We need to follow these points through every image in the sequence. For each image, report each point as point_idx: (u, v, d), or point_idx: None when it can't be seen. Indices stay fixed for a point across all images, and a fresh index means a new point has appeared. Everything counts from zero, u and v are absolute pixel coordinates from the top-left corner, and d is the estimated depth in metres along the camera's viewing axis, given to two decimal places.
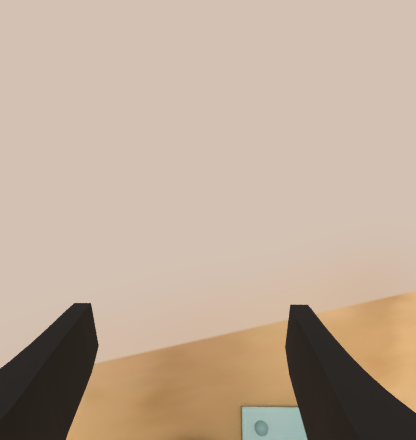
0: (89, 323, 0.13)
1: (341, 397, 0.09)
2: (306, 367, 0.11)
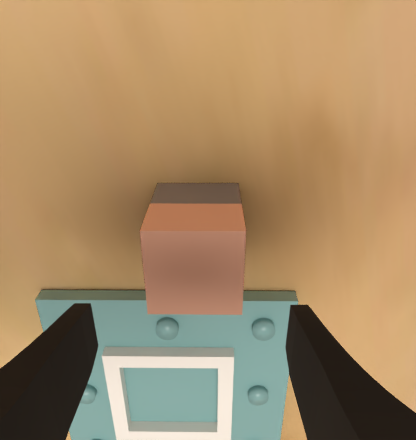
0: (89, 323, 0.13)
1: (341, 397, 0.09)
2: (306, 367, 0.11)
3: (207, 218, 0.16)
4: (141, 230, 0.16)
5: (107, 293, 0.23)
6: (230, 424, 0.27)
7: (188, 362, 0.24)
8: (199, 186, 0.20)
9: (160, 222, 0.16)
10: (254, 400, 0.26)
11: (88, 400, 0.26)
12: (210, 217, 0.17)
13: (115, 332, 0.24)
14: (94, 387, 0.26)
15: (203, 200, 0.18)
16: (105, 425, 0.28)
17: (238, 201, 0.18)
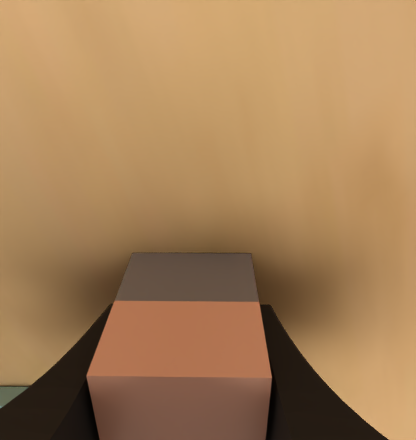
0: None
1: (284, 396, 0.09)
2: None
3: (204, 340, 0.10)
4: (89, 374, 0.09)
5: None
6: None
7: None
8: (192, 261, 0.13)
9: (125, 351, 0.10)
10: None
11: None
12: (209, 337, 0.10)
13: None
14: None
15: (199, 292, 0.12)
16: None
17: (253, 296, 0.12)
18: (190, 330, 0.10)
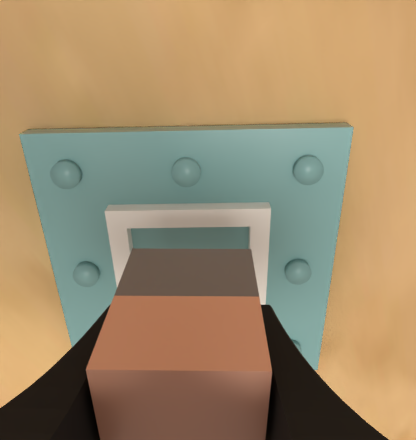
0: None
1: (284, 396, 0.09)
2: None
3: (204, 334, 0.10)
4: (89, 367, 0.09)
5: (110, 129, 0.19)
6: None
7: (213, 218, 0.19)
8: (192, 256, 0.13)
9: (125, 345, 0.10)
10: (293, 277, 0.21)
11: (89, 281, 0.21)
12: (209, 332, 0.10)
13: (121, 182, 0.19)
14: (96, 265, 0.21)
15: (199, 287, 0.12)
16: None
17: (253, 291, 0.12)
18: (190, 324, 0.10)
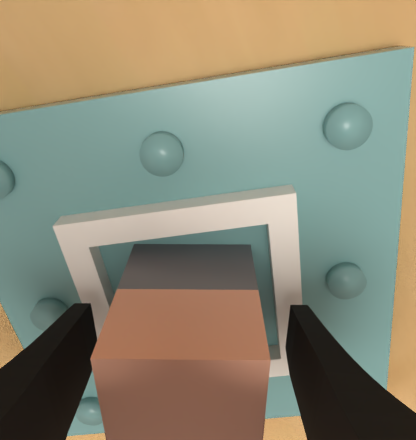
0: (89, 323, 0.13)
1: (341, 397, 0.09)
2: (306, 367, 0.11)
3: (205, 326, 0.10)
4: (93, 357, 0.09)
5: (45, 105, 0.13)
6: None
7: (211, 218, 0.13)
8: (193, 251, 0.14)
9: (128, 335, 0.10)
10: (340, 289, 0.14)
11: None
12: (210, 323, 0.10)
13: (72, 181, 0.13)
14: (61, 302, 0.15)
15: (199, 281, 0.12)
16: None
17: (253, 284, 0.12)
18: (191, 316, 0.10)
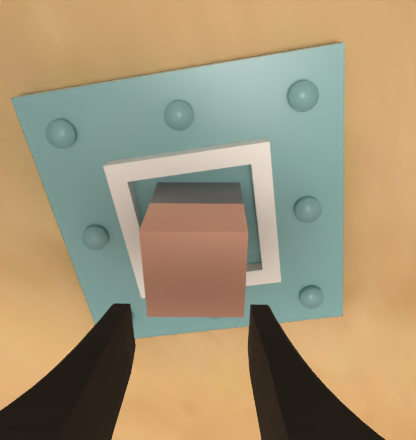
0: (129, 323, 0.13)
1: (281, 396, 0.09)
2: (259, 367, 0.11)
3: (208, 218, 0.16)
4: (140, 231, 0.15)
5: (99, 82, 0.18)
6: (277, 255, 0.21)
7: (212, 160, 0.19)
8: (199, 186, 0.20)
9: (160, 222, 0.16)
10: (303, 215, 0.20)
11: (99, 244, 0.21)
12: (211, 217, 0.16)
13: (116, 135, 0.19)
14: (104, 228, 0.21)
15: (204, 200, 0.18)
16: (126, 285, 0.23)
17: (240, 201, 0.18)
18: (199, 214, 0.16)
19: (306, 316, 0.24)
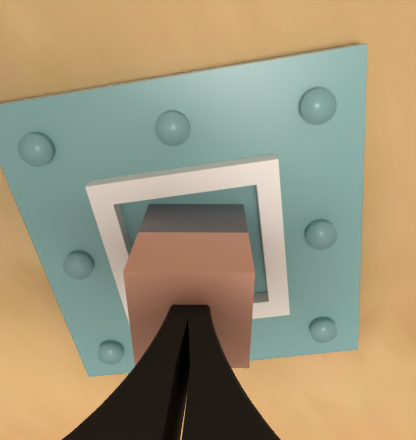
0: None
1: (191, 395, 0.09)
2: None
3: (207, 253, 0.13)
4: (125, 271, 0.13)
5: (80, 90, 0.16)
6: (286, 285, 0.18)
7: (211, 180, 0.16)
8: (197, 208, 0.17)
9: (150, 259, 0.13)
10: (316, 241, 0.18)
11: (83, 273, 0.19)
12: (210, 252, 0.14)
13: (100, 151, 0.16)
14: (88, 254, 0.19)
15: (202, 227, 0.15)
16: (115, 317, 0.21)
17: (244, 229, 0.15)
18: (196, 248, 0.14)
19: (317, 349, 0.21)
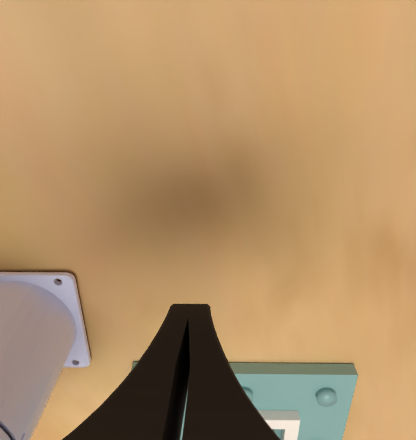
0: None
1: (191, 395, 0.09)
2: None
3: None
4: None
5: None
6: None
7: None
8: None
9: None
10: None
11: None
12: None
13: None
14: None
15: None
16: None
17: None
18: None
19: None
